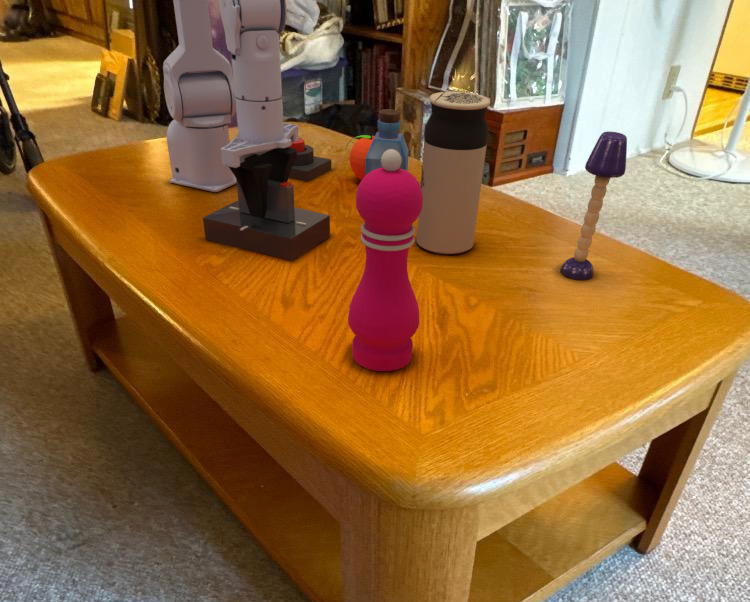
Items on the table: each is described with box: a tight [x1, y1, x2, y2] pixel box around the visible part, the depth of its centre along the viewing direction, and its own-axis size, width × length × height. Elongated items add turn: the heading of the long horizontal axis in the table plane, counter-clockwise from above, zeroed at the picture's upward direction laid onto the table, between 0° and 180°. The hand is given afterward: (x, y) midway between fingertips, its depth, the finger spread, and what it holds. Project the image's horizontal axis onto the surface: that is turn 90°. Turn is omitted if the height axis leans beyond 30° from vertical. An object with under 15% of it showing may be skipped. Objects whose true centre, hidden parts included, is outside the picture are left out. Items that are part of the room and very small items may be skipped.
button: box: [289, 137, 306, 152], centre depth 114 cm, size 4×4×2 cm
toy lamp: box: [560, 131, 628, 281], centre depth 83 cm, size 5×5×17 cm
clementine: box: [345, 134, 375, 181], centre depth 112 cm, size 8×7×7 cm
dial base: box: [202, 200, 331, 262], centre depth 93 cm, size 14×12×3 cm
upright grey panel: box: [236, 179, 295, 223], centre depth 91 cm, size 8×2×5 cm, turn 63°
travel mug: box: [415, 91, 491, 255], centre depth 89 cm, size 8×8×18 cm
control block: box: [288, 144, 332, 183], centre depth 116 cm, size 10×8×4 cm
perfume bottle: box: [365, 108, 410, 176], centre depth 105 cm, size 6×6×12 cm
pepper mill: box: [347, 149, 423, 372], centre depth 65 cm, size 7×7×20 cm
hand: (266, 210), depth 92 cm, fingers open, 4 cm apart
